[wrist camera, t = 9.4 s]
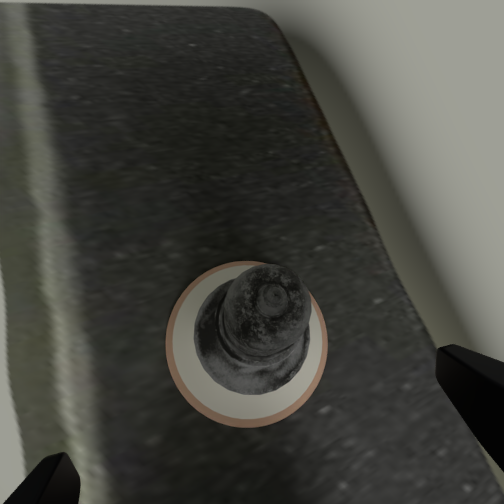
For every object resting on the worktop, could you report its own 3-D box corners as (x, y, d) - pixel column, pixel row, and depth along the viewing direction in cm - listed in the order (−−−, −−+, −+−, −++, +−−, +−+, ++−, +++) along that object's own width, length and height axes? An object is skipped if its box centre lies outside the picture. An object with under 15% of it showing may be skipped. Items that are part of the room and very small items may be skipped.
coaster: (357, 346, 22) (363, 345, 21) (238, 468, 19) (239, 473, 18) (254, 235, 24) (255, 229, 23) (133, 329, 21) (129, 327, 20)
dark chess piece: (316, 350, 21) (426, 315, 9) (237, 415, 19) (255, 468, 8) (257, 273, 22) (291, 164, 11) (179, 328, 20) (123, 268, 9)
